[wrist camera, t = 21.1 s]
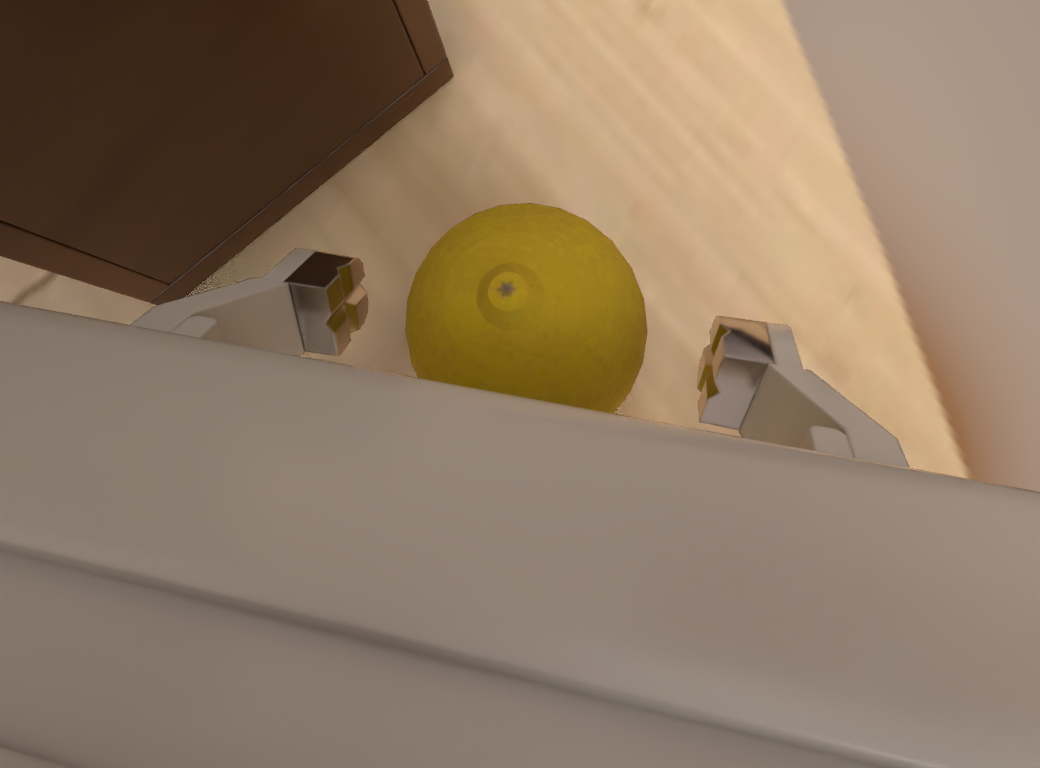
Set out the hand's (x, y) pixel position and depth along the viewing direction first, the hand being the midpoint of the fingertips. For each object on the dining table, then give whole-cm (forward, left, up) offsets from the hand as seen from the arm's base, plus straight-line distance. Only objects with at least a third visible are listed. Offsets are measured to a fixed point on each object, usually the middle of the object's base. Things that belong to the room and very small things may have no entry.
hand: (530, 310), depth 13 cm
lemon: (0, 0, -5) cm, 5 cm away
